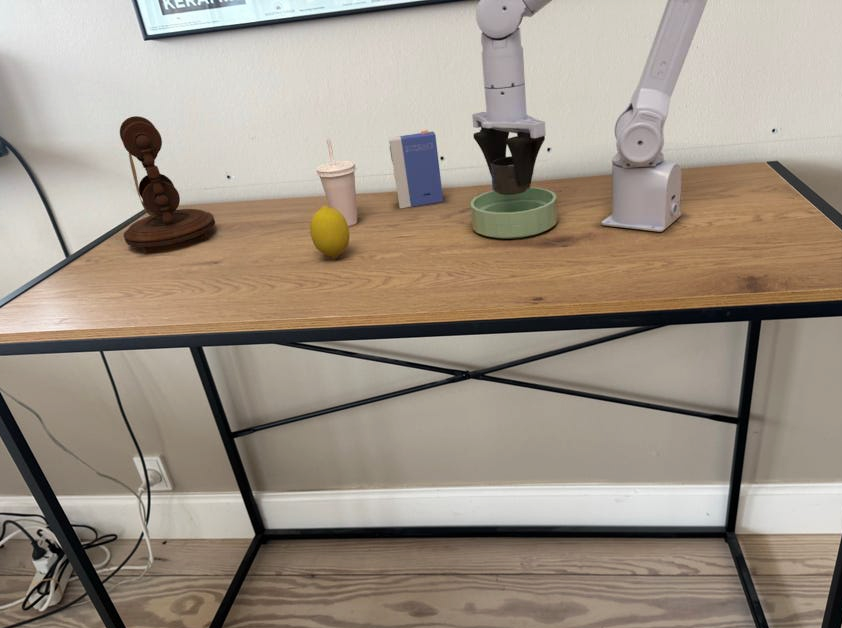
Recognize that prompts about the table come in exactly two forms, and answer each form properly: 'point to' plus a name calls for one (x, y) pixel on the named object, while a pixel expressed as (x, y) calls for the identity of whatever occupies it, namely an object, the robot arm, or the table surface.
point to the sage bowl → (514, 213)
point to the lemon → (329, 231)
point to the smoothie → (340, 186)
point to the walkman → (416, 169)
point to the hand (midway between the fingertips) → (511, 181)
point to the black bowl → (505, 177)
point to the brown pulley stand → (158, 194)
